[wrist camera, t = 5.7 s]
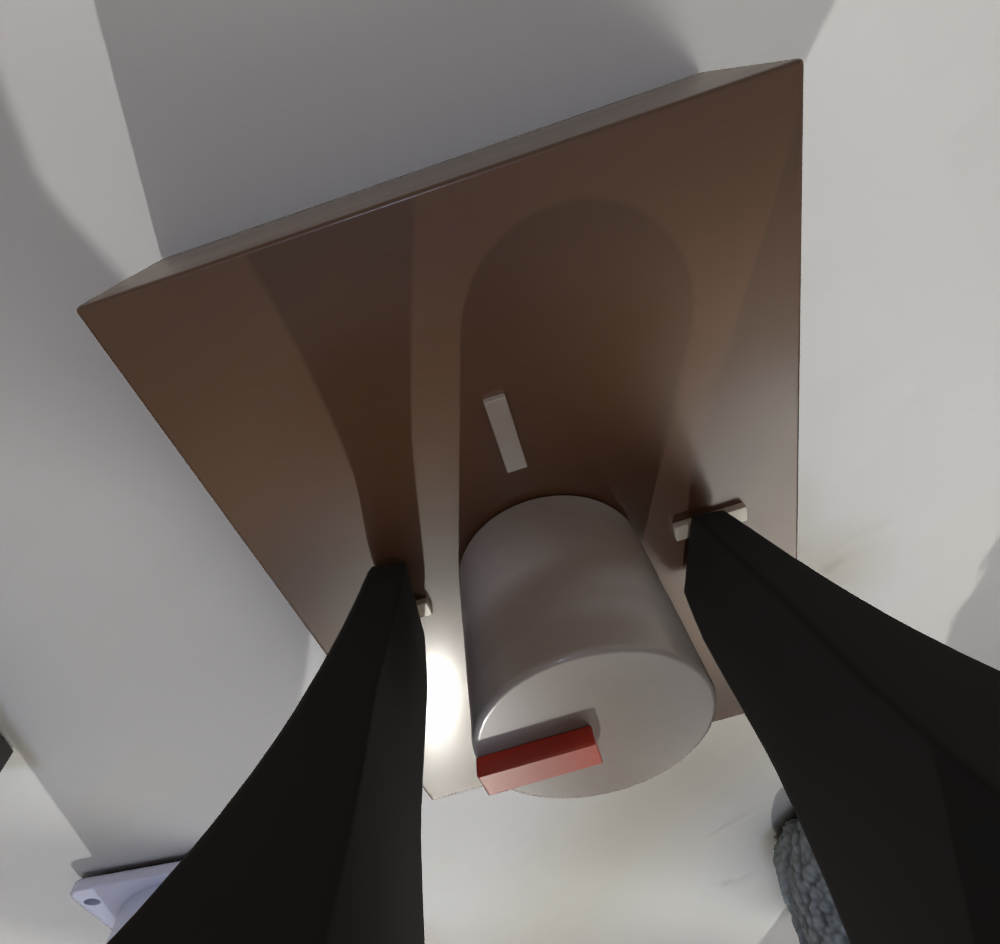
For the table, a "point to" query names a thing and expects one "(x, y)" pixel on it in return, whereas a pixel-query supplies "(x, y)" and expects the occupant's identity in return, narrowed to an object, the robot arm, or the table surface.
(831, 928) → the koala plush
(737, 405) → the dial panel
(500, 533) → the dial
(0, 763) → the button base
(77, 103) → the table surface
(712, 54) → the table surface
